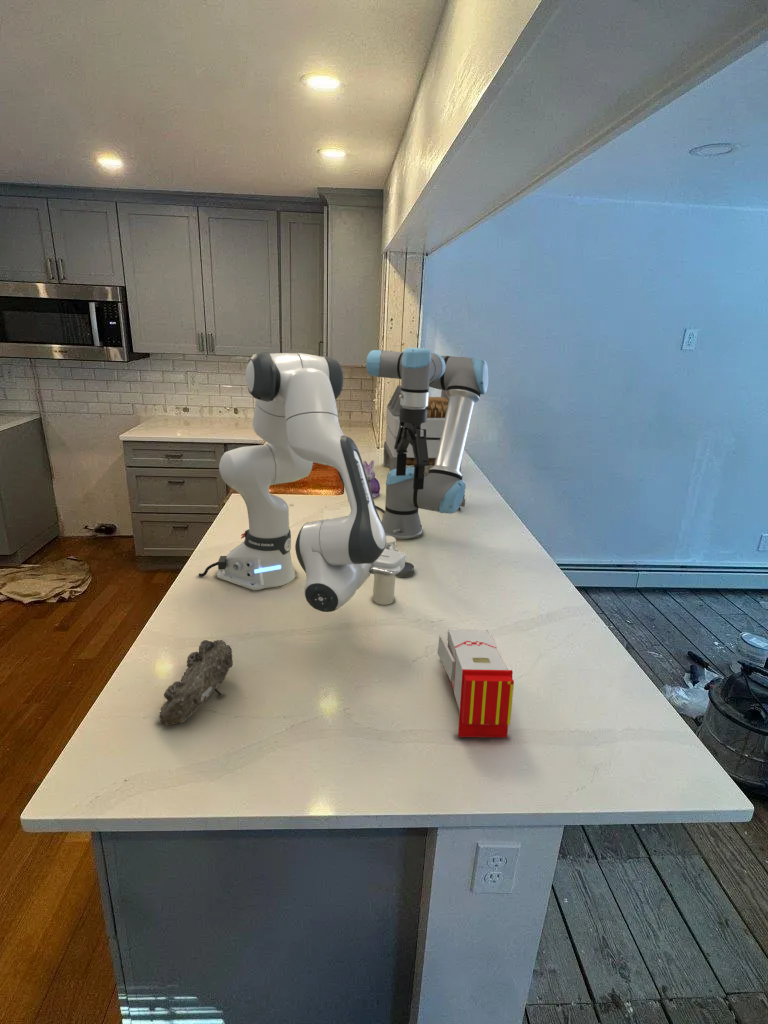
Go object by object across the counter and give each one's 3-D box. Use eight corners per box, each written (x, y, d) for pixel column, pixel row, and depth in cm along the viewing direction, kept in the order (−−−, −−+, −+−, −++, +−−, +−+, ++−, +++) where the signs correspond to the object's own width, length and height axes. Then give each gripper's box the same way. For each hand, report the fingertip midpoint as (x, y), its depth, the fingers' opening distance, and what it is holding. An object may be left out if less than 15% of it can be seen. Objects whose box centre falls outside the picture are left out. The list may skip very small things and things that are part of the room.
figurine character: (465, 515, 224) (460, 499, 237) (467, 498, 221) (462, 483, 234) (448, 515, 224) (444, 499, 237) (450, 498, 220) (445, 482, 234)
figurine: (365, 500, 232) (366, 464, 227) (354, 493, 241) (355, 458, 236) (385, 497, 237) (387, 463, 231) (374, 490, 245) (375, 457, 240)
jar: (397, 601, 154) (401, 540, 148) (380, 606, 151) (383, 544, 145) (385, 593, 158) (388, 533, 152) (369, 597, 155) (371, 537, 149)
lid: (393, 577, 167) (393, 570, 167) (391, 567, 174) (392, 561, 173) (414, 577, 168) (415, 571, 167) (412, 568, 174) (413, 561, 173)
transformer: (382, 463, 289) (386, 382, 275) (445, 464, 293) (451, 384, 279) (390, 482, 257) (394, 392, 243) (460, 483, 261) (468, 394, 247)
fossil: (185, 642, 124) (233, 610, 119) (215, 671, 126) (264, 641, 122) (136, 718, 104) (191, 685, 99) (173, 751, 107) (229, 720, 102)
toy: (488, 613, 130) (523, 677, 101) (484, 667, 133) (517, 744, 104) (435, 612, 130) (455, 676, 101) (432, 666, 133) (451, 743, 103)
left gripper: (396, 562, 121) (414, 539, 133) (309, 546, 127) (334, 526, 139) (395, 588, 123) (412, 563, 136) (309, 571, 129) (334, 549, 141)
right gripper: (385, 399, 164) (382, 470, 171) (418, 415, 142) (413, 496, 149) (409, 399, 166) (405, 469, 173) (445, 415, 144) (439, 494, 151)
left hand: (372, 544), depth 137 cm, fingers open, 8 cm apart
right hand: (409, 482), depth 161 cm, fingers open, 13 cm apart
